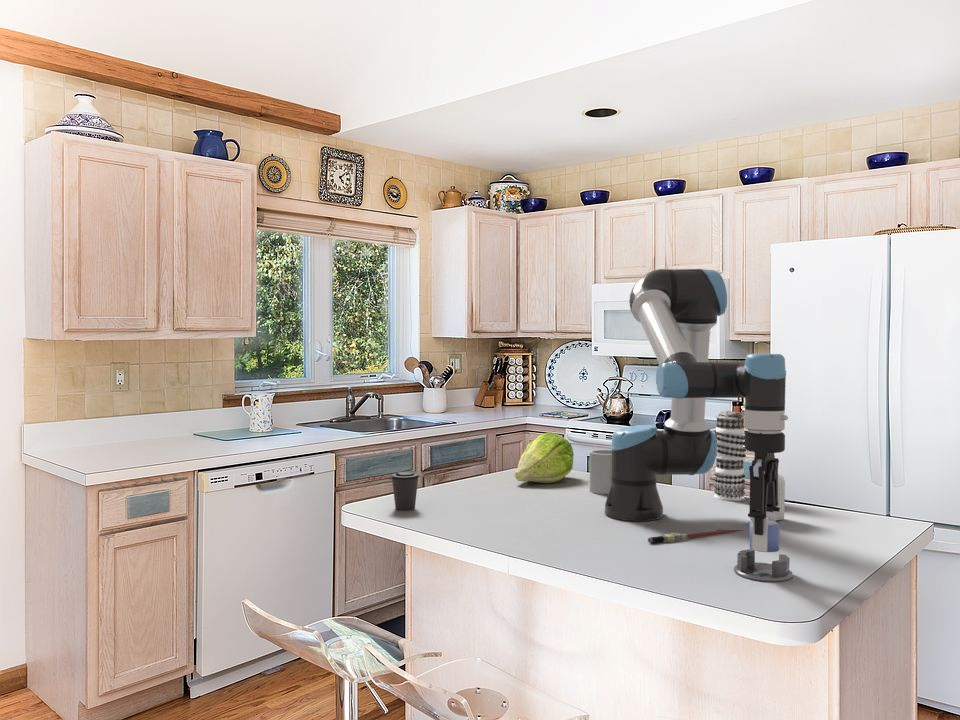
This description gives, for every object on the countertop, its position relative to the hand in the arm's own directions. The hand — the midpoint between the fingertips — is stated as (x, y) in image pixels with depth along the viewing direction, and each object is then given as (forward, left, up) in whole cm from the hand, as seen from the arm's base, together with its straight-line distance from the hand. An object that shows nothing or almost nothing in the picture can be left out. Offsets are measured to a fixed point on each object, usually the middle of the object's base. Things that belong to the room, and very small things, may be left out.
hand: (763, 546), depth 153 cm
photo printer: (-10, +45, -6) cm, 47 cm away
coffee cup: (-96, +4, -6) cm, 96 cm away
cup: (-60, +55, -6) cm, 82 cm away
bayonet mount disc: (0, 0, -5) cm, 5 cm away
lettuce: (-84, +59, -6) cm, 103 cm away
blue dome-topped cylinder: (0, 0, 0) cm, 0 cm away
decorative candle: (-26, +67, -6) cm, 72 cm away
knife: (-21, +21, -6) cm, 30 cm away
